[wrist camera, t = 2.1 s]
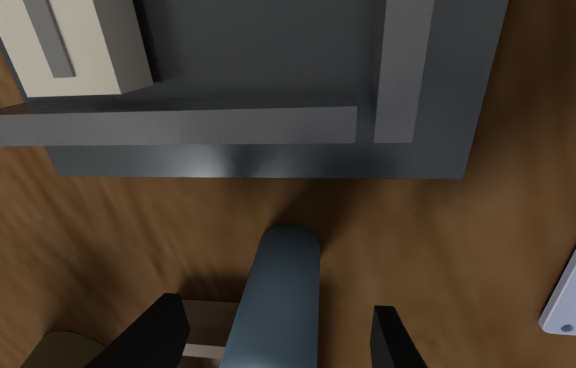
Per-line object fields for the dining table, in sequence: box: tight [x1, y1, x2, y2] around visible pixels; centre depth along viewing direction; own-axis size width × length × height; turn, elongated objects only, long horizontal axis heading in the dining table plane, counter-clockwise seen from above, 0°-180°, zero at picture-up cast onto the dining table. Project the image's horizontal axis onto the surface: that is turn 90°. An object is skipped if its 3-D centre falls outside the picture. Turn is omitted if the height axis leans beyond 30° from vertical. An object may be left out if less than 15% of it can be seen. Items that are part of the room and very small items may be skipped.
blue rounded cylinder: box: [219, 224, 320, 368], centre depth 11 cm, size 3×3×6 cm
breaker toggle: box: [0, 0, 154, 97], centre depth 8 cm, size 3×3×2 cm
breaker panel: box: [0, 0, 509, 179], centre depth 8 cm, size 16×10×3 cm, turn 93°
